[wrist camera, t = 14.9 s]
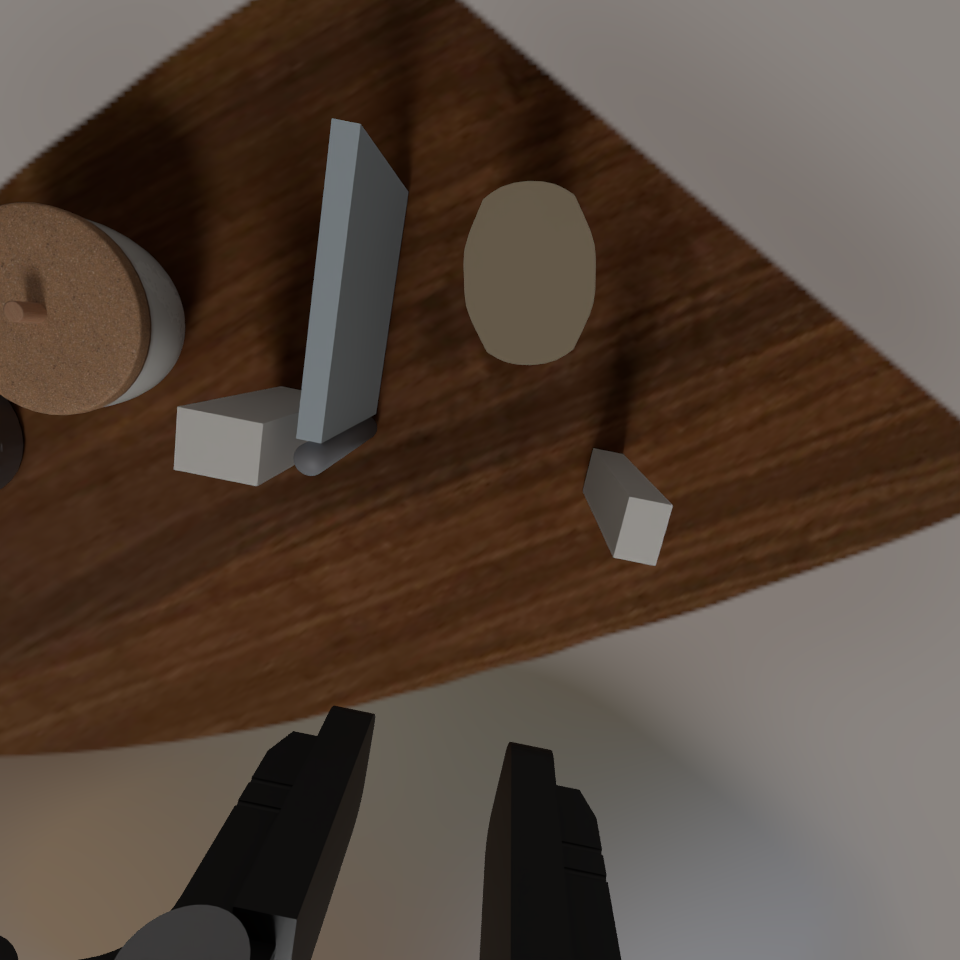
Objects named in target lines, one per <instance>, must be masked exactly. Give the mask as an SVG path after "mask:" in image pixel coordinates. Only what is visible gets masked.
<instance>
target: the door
mask: <svg viewBox="0 0 960 960" xmlns="http://www.w3.org/2000/svg"><path fill="white" fill-rule="evenodd" d="M407 199H408V191H407V189H406V188H405V186H404V185H403V184H402V182H401V181H400V179H399V178H398V176H397V175H396V174H395V172H394V171H393V169H392V168H391V166H390V165H389V164H388V162H387V161H386V159H385V158H384V157H383V155H382V154H381V152H380V151H379V149H378V148H377V147H376V145H375V144H374V142H373V141H372V139H371V138H370V137H369V135H368V134H367V132H366V131H365V129H364V128H363V127H362V125H361V124H358V123H353V122H348V121H343V120H338V119H332V122H331V131H330V140H329V149H328V158H327V167H326V176H325V185H324V193H323V202H322V211H321V220H320V229H319V238H318V247H317V256H316V265H315V274H314V283H313V292H312V301H311V309H310V318H309V327H308V336H307V345H306V354H305V363H304V372H303V381H302V390H301V399H300V408H299V417H298V425H297V434H296V439H301V440H306V441H308V442H306V443H304V444H302V445H300V446H299V447H298V448H297V449H296V450H295V452H294V457H293V459H294V464H295V466H296V468H297V469H298V470H299V471H300V472H301V473H303V474H305V475H309V476H314V475H317V474H319V473H321V472H322V471H324V470H325V469H327V468H328V467H330V466H331V465H332V464H334V463H335V462H337V461H338V460H340V459H341V458H343V457H344V456H345V455H347V454H348V453H350V452H351V451H353V450H354V449H356V448H357V447H359V446H360V445H361V444H363V443H364V442H366V441H367V440H369V439H370V438H372V437H373V436H374V435H375V434H376V431H377V424H376V422H375V420H374V419H373V418H372V417H371V416H373V415H375V414H376V411H377V404H378V398H379V391H380V384H381V377H382V370H383V363H384V356H385V350H386V343H387V336H388V329H389V322H390V315H391V308H392V302H393V295H394V288H395V281H396V274H397V267H398V261H399V254H400V247H401V240H402V233H403V226H404V219H405V213H406V206H407Z"/></svg>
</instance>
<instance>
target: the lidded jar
mask: <svg viewBox="0 0 960 960" xmlns="http://www.w3.org/2000/svg"><path fill="white" fill-rule="evenodd" d="M184 338H185V317H184V311H183V306H182V302H181V299H180V297H179V294H178V291H177V289H176V287H175V285H174V284H173V282H172V280H171V278H170V277H169V275H168V274H167V273H166V271H165V270H164V269H163V267H162V266H161V265H160V264H159V263H158V262H157V261H156V260H155V259H154V258H153V257H152V256H151V255H150V254H149V253H148V252H147V251H146V250H144V249H143V248H142V247H141V246H139V245H138V244H137V243H135V242H134V241H132V240H131V239H129V238H128V237H126V236H124V235H122V234H120V233H118V232H117V231H115V230H113V229H111V228H109V227H107V226H104V225H102V224H99V223H96V222H94V221H91V220H88V219H85V218H82V217H80V216H79V215H76V214H74V213H71V212H68V211H66V210H63V209H60V208H57V207H54V206H50V205H44V204H39V203H31V202H17V203H11V204H5V205H1V206H0V395H2V396H3V397H5V398H6V399H8V400H10V401H12V402H14V403H15V404H17V405H19V406H21V407H24V408H27V409H30V410H33V411H35V412H40V413H45V414H50V415H70V414H78V413H85V412H89V411H92V410H95V409H99V408H102V407H106V406H110V405H114V404H118V403H121V402H124V401H127V400H130V399H132V398H135V397H137V396H139V395H141V394H142V393H144V392H146V391H148V390H150V389H151V388H153V387H154V386H155V385H157V384H158V383H159V382H160V381H162V380H163V378H164V377H165V376H166V375H167V374H168V373H169V372H170V370H171V369H172V368H173V366H174V365H175V363H176V361H177V360H178V358H179V355H180V353H181V350H182V347H183V342H184Z"/></svg>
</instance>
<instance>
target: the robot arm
mask: <svg viewBox="0 0 960 960" xmlns="http://www.w3.org/2000/svg"><path fill="white" fill-rule="evenodd" d="M22 454H23V437H22V430H21V427H20V424H19V421H18V418H17V416H16V414H15V412H14V410H13V408H12V406H11V404H10V403H9V402H8V400H7V399H6V398H5V397H3V396H2V395H0V489H1V488H3V487H4V486H5V485H6V484H7V483H9V482H10V481H11V480H12V478H13V477H14V475H15V474H16V472H17V471H18V468H19V466H20V463H21V460H22ZM374 723H375V714H372V713H368V712H362V711H358V710H353V709H348V708H343V707H338V706H333V707H332V708H331V709H330V711H329V713H328V715H327V717H326V719H325V721H324V724H323V726H322V727H321V729H320V731H319V734H318V736H314V735H309V734H304V733H299V732H295V731H293V732H292V733H290V734H289V735H288V736H286V737H285V738H284V739H282V740H281V741H280V742H279V743H277V744H276V745H275V746H273V747H272V748H271V749H269V750H268V751H267V753H266V755H265V756H264V758H263V760H262V761H261V763H260V765H259V767H258V768H257V770H256V771H255V773H254V775H253V776H252V780H251V782H250V783H248V785H247V786H246V788H245V790H244V791H243V793H242V795H241V796H240V798H239V800H238V804H237V806H234V808H233V810H232V811H231V813H230V815H229V817H228V818H227V820H226V822H225V823H224V825H223V827H222V828H221V830H220V832H219V833H218V835H217V837H216V839H215V840H214V842H213V844H212V845H211V847H210V848H209V850H208V852H207V854H206V855H205V857H204V858H203V860H202V862H201V863H200V865H199V867H198V869H197V870H196V872H195V874H194V875H193V877H192V878H191V880H190V882H189V884H188V885H187V887H186V889H185V890H184V892H183V894H182V895H181V897H180V898H179V900H178V901H177V903H176V904H175V906H174V907H173V908H172V909H171V911H169V912H167V913H165V914H163V915H160V916H159V917H157V918H155V919H154V920H152V921H150V922H149V923H147V924H146V925H145V926H144V927H142V928H141V929H140V930H138V931H137V932H136V934H134V936H132V937H131V938H130V939H129V940H128V941H127V942H126V944H125V945H124V946H123V947H121V948H120V949H117V950H115V951H112V952H109V953H107V954H103V955H100V956H96V957H91V958H86V959H81V960H311V958H312V954H313V951H314V948H315V945H316V942H317V939H318V936H319V933H320V930H321V927H322V924H323V921H324V918H325V914H326V912H327V908H328V905H329V902H330V899H331V896H332V893H333V890H334V887H335V884H336V881H337V878H338V875H339V871H340V868H341V865H342V863H343V859H344V856H345V853H346V850H347V847H348V844H349V841H350V838H351V835H352V832H353V828H354V825H355V822H356V818H357V815H358V811H359V807H360V802H361V798H362V794H363V788H364V783H365V777H366V771H367V765H368V759H369V753H370V747H371V741H372V735H373V730H374ZM601 851H602V847H601V842H600V836H599V830H598V824H597V819H596V817H595V815H594V813H593V812H592V810H591V809H590V807H589V805H588V804H587V802H586V800H585V798H584V797H583V795H582V794H581V792H580V790H577V789H573V788H568V787H563V786H558V785H556V778H555V768H554V758H553V753H552V751H551V750H548V749H543V748H538V747H533V746H528V745H523V744H518V743H513V742H509V744H508V746H507V749H506V753H505V758H504V762H503V766H502V770H501V774H500V778H499V783H498V787H497V791H496V795H495V800H494V804H493V808H492V812H491V817H490V822H489V828H488V835H487V842H486V852H485V867H484V869H485V870H484V886H483V904H482V925H481V942H480V960H621V956H620V950H619V944H618V938H617V933H616V927H615V921H614V916H613V911H612V904H611V899H610V893H609V887H608V882H606V870H605V864H604V859H603V855H601ZM0 960H18V956H17V953H16V951H15V949H14V947H13V945H12V944H11V943H10V942H9V941H8V940H7V939H5V938H3V937H2V936H0Z"/></svg>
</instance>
